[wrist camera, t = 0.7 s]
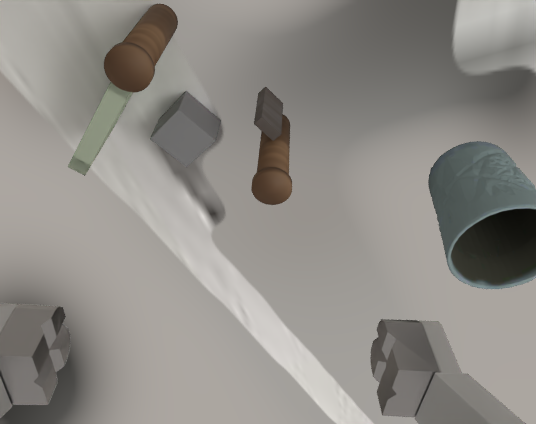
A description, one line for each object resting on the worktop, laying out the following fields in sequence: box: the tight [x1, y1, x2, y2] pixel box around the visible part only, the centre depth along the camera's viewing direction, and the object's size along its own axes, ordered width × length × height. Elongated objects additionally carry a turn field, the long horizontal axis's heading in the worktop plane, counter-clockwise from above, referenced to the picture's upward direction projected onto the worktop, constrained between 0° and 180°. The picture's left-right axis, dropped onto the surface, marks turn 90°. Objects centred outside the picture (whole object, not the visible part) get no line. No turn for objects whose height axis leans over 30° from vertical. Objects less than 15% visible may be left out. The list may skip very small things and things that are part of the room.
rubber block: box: [150, 91, 221, 167], centre depth 46 cm, size 4×4×4 cm
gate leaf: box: [68, 82, 133, 175], centre depth 42 cm, size 2×10×8 cm, turn 145°
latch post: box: [252, 87, 292, 205], centre depth 43 cm, size 4×5×11 cm
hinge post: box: [104, 4, 178, 92], centre depth 37 cm, size 3×3×11 cm
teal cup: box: [429, 141, 536, 289], centre depth 46 cm, size 10×10×12 cm
